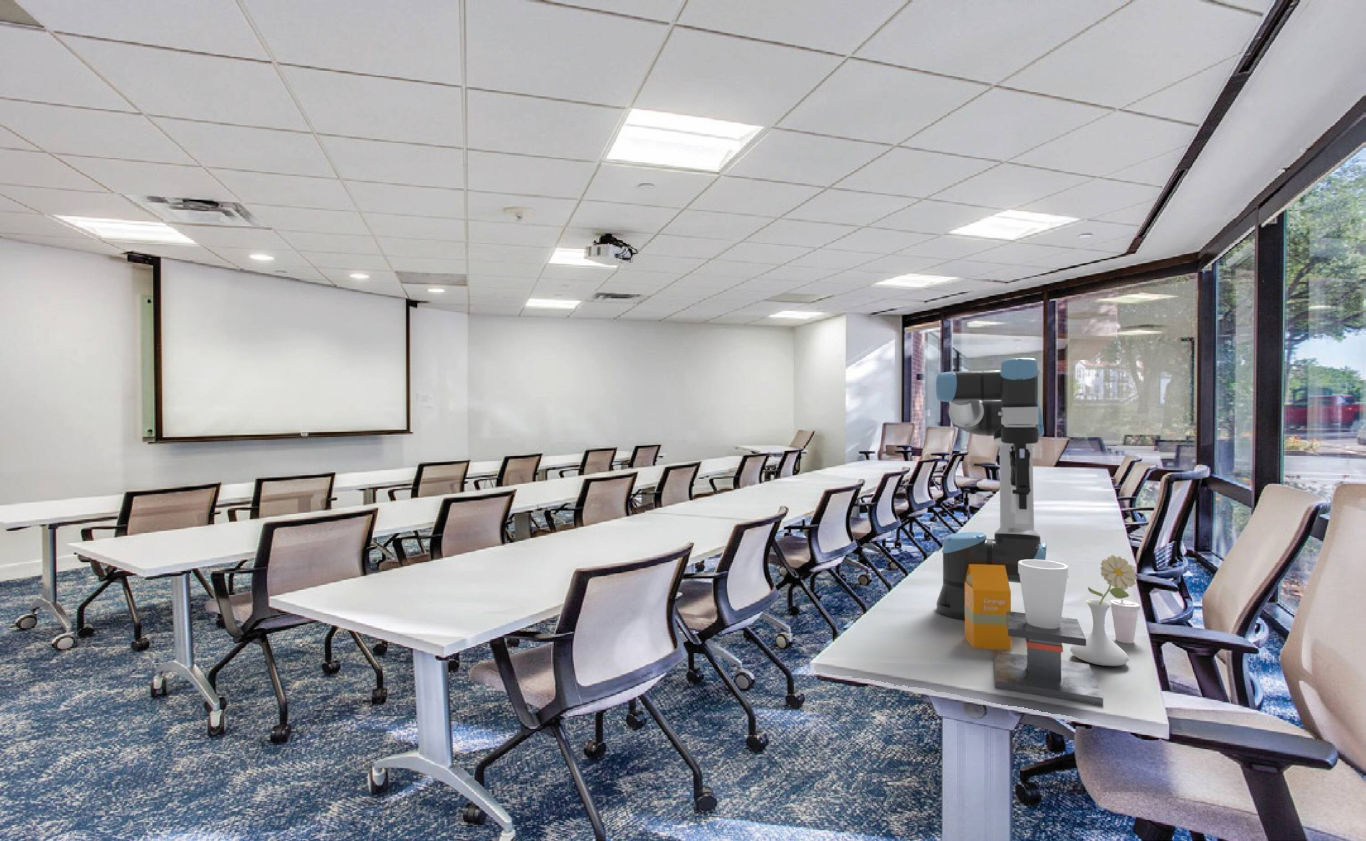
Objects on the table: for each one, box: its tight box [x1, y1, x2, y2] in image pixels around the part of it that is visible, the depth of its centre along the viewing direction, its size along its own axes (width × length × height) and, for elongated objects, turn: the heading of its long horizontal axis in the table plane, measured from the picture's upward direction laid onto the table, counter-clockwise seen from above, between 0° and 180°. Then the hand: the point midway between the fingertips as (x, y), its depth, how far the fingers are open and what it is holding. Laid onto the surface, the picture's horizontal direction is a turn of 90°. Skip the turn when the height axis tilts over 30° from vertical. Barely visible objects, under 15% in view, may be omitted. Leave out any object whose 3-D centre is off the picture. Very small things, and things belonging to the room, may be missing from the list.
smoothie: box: [1109, 598, 1141, 644], centre depth 158 cm, size 6×6×14 cm
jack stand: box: [993, 610, 1104, 706], centre depth 135 cm, size 19×19×12 cm
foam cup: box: [1018, 559, 1069, 629], centre depth 135 cm, size 10×9×13 cm
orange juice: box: [964, 564, 1012, 651], centre depth 156 cm, size 8×9×20 cm
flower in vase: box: [1070, 555, 1138, 667], centre depth 144 cm, size 13×11×25 cm
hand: (1019, 518), depth 142 cm, fingers open, 13 cm apart
